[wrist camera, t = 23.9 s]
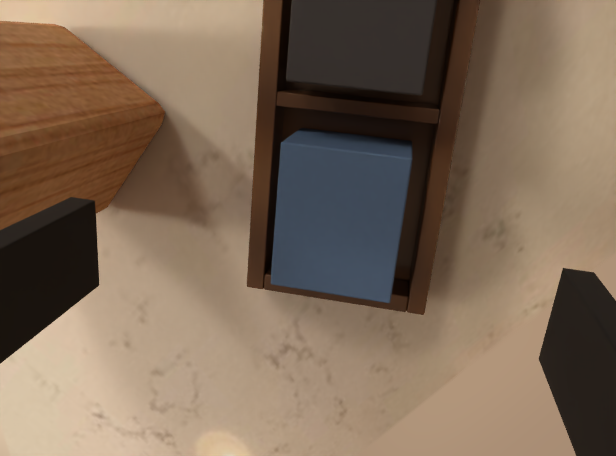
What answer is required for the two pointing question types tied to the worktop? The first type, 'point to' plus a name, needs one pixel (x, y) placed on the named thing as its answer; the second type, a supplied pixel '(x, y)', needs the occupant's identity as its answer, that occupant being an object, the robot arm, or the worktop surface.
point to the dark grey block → (361, 44)
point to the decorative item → (65, 121)
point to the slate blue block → (340, 213)
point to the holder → (370, 122)
